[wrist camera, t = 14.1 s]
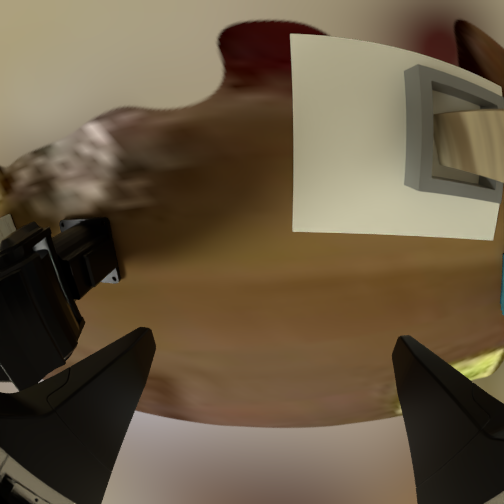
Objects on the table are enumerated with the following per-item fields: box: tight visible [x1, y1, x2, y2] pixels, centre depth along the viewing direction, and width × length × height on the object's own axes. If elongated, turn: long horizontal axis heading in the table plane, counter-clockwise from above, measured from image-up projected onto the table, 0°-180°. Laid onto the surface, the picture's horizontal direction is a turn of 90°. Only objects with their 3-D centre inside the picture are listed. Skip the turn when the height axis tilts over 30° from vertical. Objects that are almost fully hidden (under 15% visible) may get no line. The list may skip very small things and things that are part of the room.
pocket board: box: [290, 34, 504, 240], centre depth 15 cm, size 20×15×3 cm
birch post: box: [433, 109, 504, 183], centre depth 11 cm, size 4×4×10 cm
